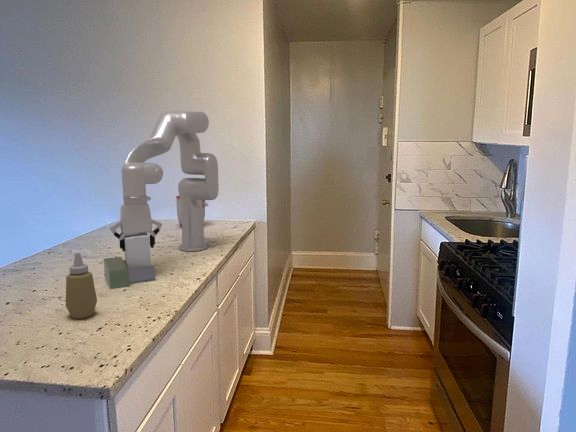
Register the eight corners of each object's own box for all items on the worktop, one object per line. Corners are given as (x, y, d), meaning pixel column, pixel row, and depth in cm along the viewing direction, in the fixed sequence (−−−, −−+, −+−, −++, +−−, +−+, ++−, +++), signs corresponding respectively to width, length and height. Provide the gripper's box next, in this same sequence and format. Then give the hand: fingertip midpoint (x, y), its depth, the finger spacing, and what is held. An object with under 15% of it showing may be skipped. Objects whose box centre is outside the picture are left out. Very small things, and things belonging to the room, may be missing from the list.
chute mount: (147, 269, 168) (146, 253, 167) (156, 282, 154) (156, 265, 153) (104, 274, 162) (103, 258, 161) (110, 288, 147) (109, 271, 146)
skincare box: (149, 271, 164) (147, 232, 161) (152, 276, 158) (150, 235, 156) (124, 274, 160) (122, 234, 157) (127, 279, 154) (125, 237, 152)
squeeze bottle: (73, 310, 129) (68, 249, 126) (102, 309, 130) (97, 249, 127) (61, 321, 121) (56, 257, 118) (92, 320, 122) (87, 257, 119)
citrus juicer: (206, 230, 238) (205, 192, 235) (173, 229, 239) (172, 192, 235) (211, 224, 254) (210, 189, 250) (180, 223, 254) (179, 189, 250)
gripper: (158, 197, 161) (160, 243, 165) (107, 201, 154) (110, 249, 157) (162, 200, 155) (165, 248, 158) (109, 204, 147) (113, 254, 150)
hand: (137, 248), depth 158 cm, fingers open, 9 cm apart
